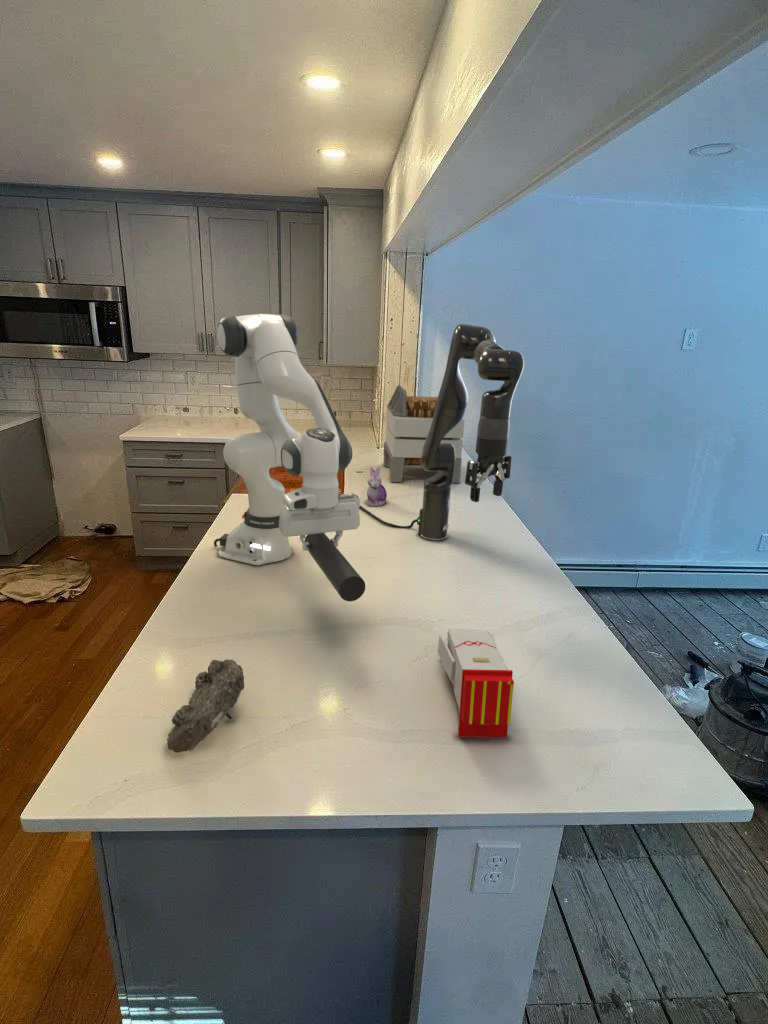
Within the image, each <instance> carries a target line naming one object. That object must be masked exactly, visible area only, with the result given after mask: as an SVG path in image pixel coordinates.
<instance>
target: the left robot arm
mask: <svg viewBox="0 0 768 1024" xmlns="http://www.w3.org/2000/svg"><path fill="white" fill-rule="evenodd" d="M216 337H217V343H218V345H219V348H220V350H221V351H222V352H223V354H225V355H226V356H229V357H234V358H235V359H234V367H235V368H234V370H235V372H234V374H235V375H234V376H235V382H236V383H235V384H236V390H237V398H238V403H239V404H238V405H239V409H240V411H241V414H242V415H243V416H245V418H247V419H250V420H253V421H254V422H255V423H256V424H257V426H258V427H259V430H260V431H257V432H251V433H242V434H240V435H236V436H234V437H231V438H228V439H227V440H226V442H225V443H224V446H223V449H222V450H223V452H222V453H223V460H224V462H225V465H226V466H227V467H228V468H229V469H230V470H231V471H233V472H235V473H236V474H237V475H238V476H239V477H241V479H242V480H243V482H244V484H245V487H246V490H247V498H248V508H247V510H246V511H245V512H243V514H242V515H241V520H243V519H244V520H243V522H241V523H240V524H238V525H237V526H236V527H234V528H233V529H232V530H231V531H229V533H224V534H223V535H221V537H219V538H216V539H214V541H213V546H214V548H217V547H218V543H217V542H219V546H220V548H219V550H218V557H220V558H224V559H227V560H232V561H235V562H236V561H237V562H240V563H245V564H249V565H252V566H263V565H265V564H269V563H276V562H281V561H283V560H284V561H285V560H286V559H288V558H289V557H291V555H292V554H293V550H292V547H291V545H290V542H289V538H291V537H298V539H299V540H300V543H301V547H302V548H301V549H302V551H303V552H306V551H307V552H308V550H310V548H309V547H310V544H309V543H308V542H305V538H306V536H307V535H309V534H318V533H325V534H326V533H332V532H334V533H335V535H334V537H333V538H330V540H331V542H332V543H333V544H334V545H335V546H336V548H338V547H339V541H340V539H341V538H342V536H343V533H344V531H351V530H352V531H353V530H357V529H359V527H360V525H361V518H360V510H359V509H360V508H359V506H361V498H360V496H359V495H357V494H356V493H354V492H353V493H352V492H351V493H340V494H339V489H340V488H339V485H340V484H339V479H338V473H343V472H344V471H345V470H346V469H347V467H348V466H349V465H350V464H351V462H352V459H353V448H352V447H353V446H352V444H351V442H350V440H349V439H348V437H347V436H346V435H345V433H344V432H343V430H342V428H341V426H340V424H339V422H338V419H337V418H336V415H335V414H334V411H333V409H332V407H331V404H330V402H329V400H328V398H327V396H326V394H325V392H324V390H323V388H322V386H321V384H320V382H319V381H318V380H317V379H315V378H314V377H312V376H311V375H310V374H309V373H308V371H307V370H306V369H305V367H304V366H303V364H302V363H301V361H300V357H299V355H298V351H297V348H296V347H297V345H298V342H299V331H298V327H297V323H296V322H295V320H294V319H293V318H292V317H291V316H289V315H286V314H281V313H279V314H271V313H255V314H244V315H238V316H237V315H236V316H235V315H229V316H225V317H223V318H221V319H220V321H219V322H218V324H217V330H216ZM279 397H280V398H282V399H286V400H290V401H293V402H296V403H298V404H300V405H302V406H304V407H305V408H306V409H307V410H308V411H309V412H310V414H311V416H312V419H313V420H314V422H315V424H316V427H314V428H313V427H312V428H309V429H307V430H305V431H304V433H303V434H301V433H300V432H299V431H298V430H296V429H294V428H293V427H292V426H291V424H289V422H288V421H287V420H286V417H285V416H284V415H283V412H282V410H281V407H280V402H279ZM281 467H282V468H283V469H284V470H285V471H286V472H287V473H288V474H289V475H292V476H295V477H299V476H300V477H301V478H302V483H301V487H298V488H297V489H294V490H292V491H289V492H287V493H286V488H285V486H284V485H283V483H282V482H281V481H279V480H277V479H275V478H272V477H271V476H270V469H275V468H281ZM285 493H286V494H285Z"/></svg>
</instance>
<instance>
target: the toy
mask: <svg viewBox="0 0 768 1024" xmlns="http://www.w3.org/2000/svg"><path fill="white" fill-rule="evenodd" d="M446 640H447V643H446V641H445V639H444V636H443V635H442V634H439V637H438V646H437V656H438V657H439V659H440V661H441V663H442V666H443V668H444V670H445V672H446V674H447V677H448V679H449V681H450V684H451V687H452V690H453V693H454V697H455V701H456V705H457V708H458V711H459V714H458V715H459V716H458V730H457V731H458V732H457V737H458V738H508V731H509V726H510V725H511V717H512V707H513V697H514V696H513V695H514V684H515V680H514V679H513V673H514V671H513V670H512V669H508V667H507V665H506V662H505V661H504V659H503V658H502V655H501V653H500V651H499V649H498V647H497V643H496V639H495V637H494V635H493V634H491V632H490V631H489V629H467V628H466V629H465V628H463V629H461V628H460V629H459V628H448V630H447V639H446Z"/></svg>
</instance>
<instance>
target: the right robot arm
mask: <svg viewBox="0 0 768 1024" xmlns="http://www.w3.org/2000/svg"><path fill="white" fill-rule="evenodd" d="M461 359H465V360H471V361H474V362H475V364H476V365H477V373H478V376H479V377H480V379H482V380H485V381H489V382H490V381H491V382H492V381H493V382H494V381H495V382H503V383H502V385H501V386H500V387H498V388H497V389H492V390H486V391H485V392H483V394H482V397H481V402H480V403H481V404H480V411H479V412H480V414H479V415H480V416H479V420H478V425H477V433H476V442H475V443H476V445H475V453H476V454H477V459H476V461H473V460H468V461H467V463H466V465H467V466H466V471H465V479H464V484H465V485H466V486H470V494H469V499H470V501H471V502H474V503H479V502H480V496H481V486H482V484H483V482H485V481H486V480H487V478H489V477H491V476H492V477H493V478H494V482H493V490H492V495H493V496H496V497H501V496H502V493H503V487H504V483H505V482H506V480H507V479H510V477H511V467H512V456H511V455H508V454H507V452H508V444H509V436H510V427H511V425H510V424H511V423H510V419H511V418H510V417H511V411H512V402H513V398H514V395H515V391H516V390H517V386H518V384H519V381H520V380H521V377H522V374H523V371H524V367H525V360H524V359H525V358H524V356H523V354H522V352H520V351H518V350H516V349H515V350H514V349H505V348H504V347H502V346H501V345H500V344H499V343H497V341H496V338H495V336H494V334H493V332H492V330H491V329H489V328H487V327H485V326H479V325H473V324H465V323H459V324H457V325H456V326H455V328H454V330H453V333H452V336H451V340H450V345H449V350H448V355H447V361H446V366H445V371H444V375H443V377H442V382H441V386H440V389H439V392H438V395H437V397H438V398H437V402H436V406H435V411H434V415H433V419H432V423H431V426H430V429H429V432H428V435H427V438H426V440H425V443H424V446H423V449H422V453H421V465H422V466H421V467H422V469H423V470H424V471H427V472H437V473H435V475H433V476H431V477H428V478H427V479H425V480H424V482H423V493H422V496H423V497H422V506H421V508H420V509H419V516H418V517H417V518H416V519H413V520H412V521H411V523H410V524H409V525H398V524H394V523H390V522H387V521H385V520H383V519H381V518H380V517H378V516H376V515H375V514H373V513H372V512H371V511H369V510H367V509H366V508H365V507H363V506H362V505H360V506H359V508H358V509H360V510H361V511H364V512H365V513H366V514H367V515H369V516H370V517H372V518H373V519H375V520H377V521H378V522H379V523H381V524H383V525H384V526H388V527H391V528H396V529H411V528H413V526H414V524H416V525H417V526H418V530H417V535H418V536H420V538H421V539H424V540H426V541H432V542H440V541H444V540H446V539H447V538H448V529H449V527H450V524H449V517H450V516H449V514H450V504H451V494H452V493H451V491H452V485H453V483H452V482H453V473H454V467H455V458H456V454H455V448H454V446H453V445H452V444H450V443H440V442H441V441H442V439H443V438H444V437H445V436H446V435H447V434H448V433H449V432H450V431H451V430H452V429H453V428H454V427H455V426H456V425H457V424H458V423H459V422H460V421H461V419H464V417H465V416H464V415H465V413H466V409H467V405H468V403H469V393H468V389H467V387H466V384H465V382H464V379H463V376H462V374H461V370H460V360H461Z"/></svg>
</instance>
